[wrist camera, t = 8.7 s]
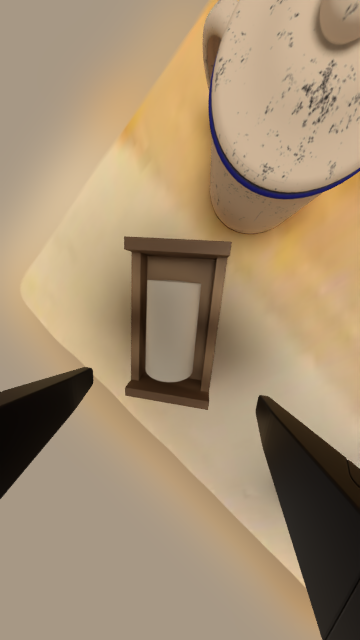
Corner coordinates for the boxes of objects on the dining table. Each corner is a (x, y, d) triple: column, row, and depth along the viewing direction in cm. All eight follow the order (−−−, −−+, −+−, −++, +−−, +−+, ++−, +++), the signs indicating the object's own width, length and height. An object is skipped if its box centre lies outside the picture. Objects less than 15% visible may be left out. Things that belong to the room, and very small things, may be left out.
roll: (194, 361, 20) (190, 386, 15) (154, 355, 21) (137, 378, 16) (202, 282, 18) (200, 283, 13) (156, 278, 18) (138, 278, 13)
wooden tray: (207, 383, 21) (207, 409, 17) (140, 373, 23) (125, 395, 18) (225, 251, 17) (231, 241, 13) (143, 246, 19) (124, 236, 14)
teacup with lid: (330, 186, 15) (698, -87, 4) (243, 256, 17) (310, 216, 6) (250, 66, 14) (437, -818, 3) (170, 158, 16) (91, -106, 5)
